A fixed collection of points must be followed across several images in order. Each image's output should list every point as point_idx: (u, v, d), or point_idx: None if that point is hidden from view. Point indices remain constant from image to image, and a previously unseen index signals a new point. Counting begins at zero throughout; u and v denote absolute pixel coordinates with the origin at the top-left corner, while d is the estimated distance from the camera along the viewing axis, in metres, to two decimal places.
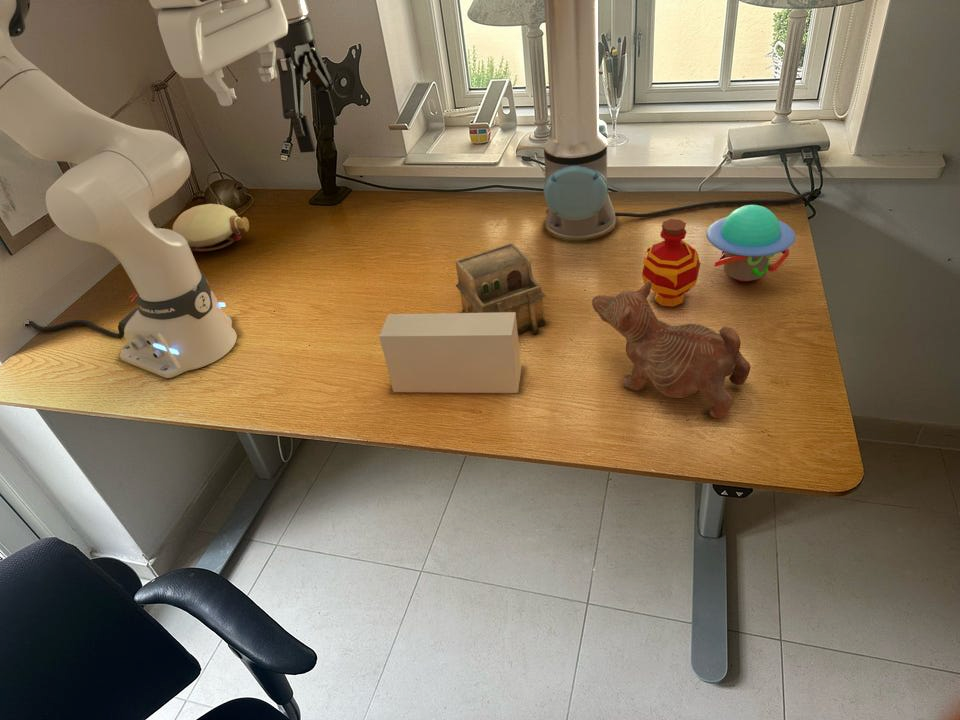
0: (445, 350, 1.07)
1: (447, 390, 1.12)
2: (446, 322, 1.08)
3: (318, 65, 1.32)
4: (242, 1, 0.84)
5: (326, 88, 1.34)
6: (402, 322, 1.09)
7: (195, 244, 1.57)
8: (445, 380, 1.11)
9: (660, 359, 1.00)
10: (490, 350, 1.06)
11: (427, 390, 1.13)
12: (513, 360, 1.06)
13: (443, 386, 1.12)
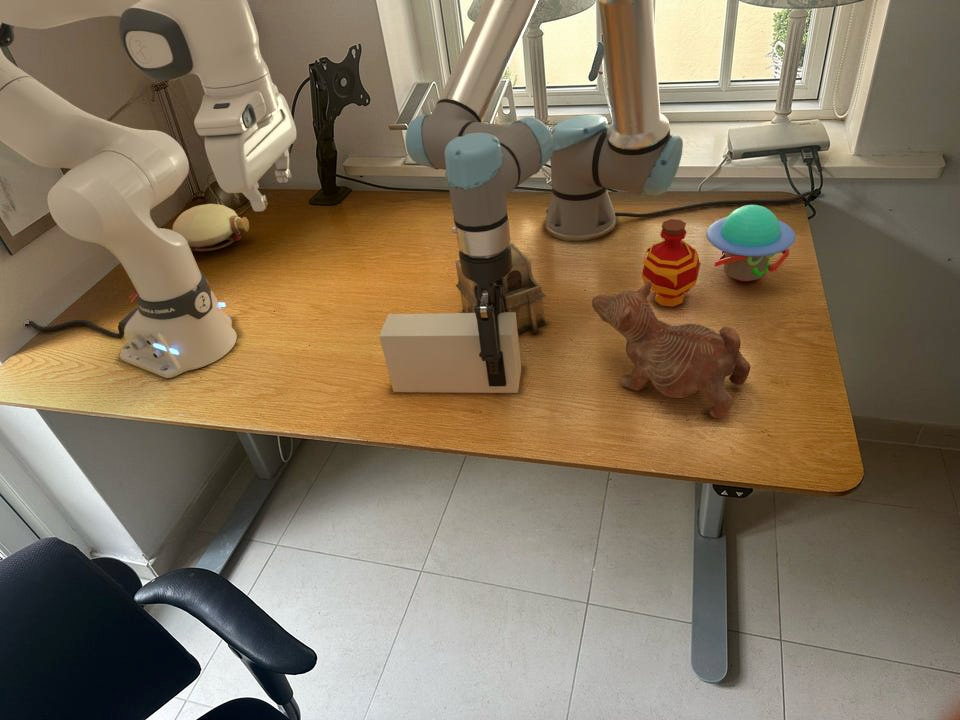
0: (445, 350, 1.07)
1: (447, 390, 1.12)
2: (446, 322, 1.08)
3: None
4: (270, 120, 0.94)
5: None
6: (402, 322, 1.09)
7: (195, 244, 1.57)
8: (445, 380, 1.11)
9: (660, 359, 1.00)
10: None
11: (427, 390, 1.13)
12: (513, 360, 1.06)
13: (443, 386, 1.12)
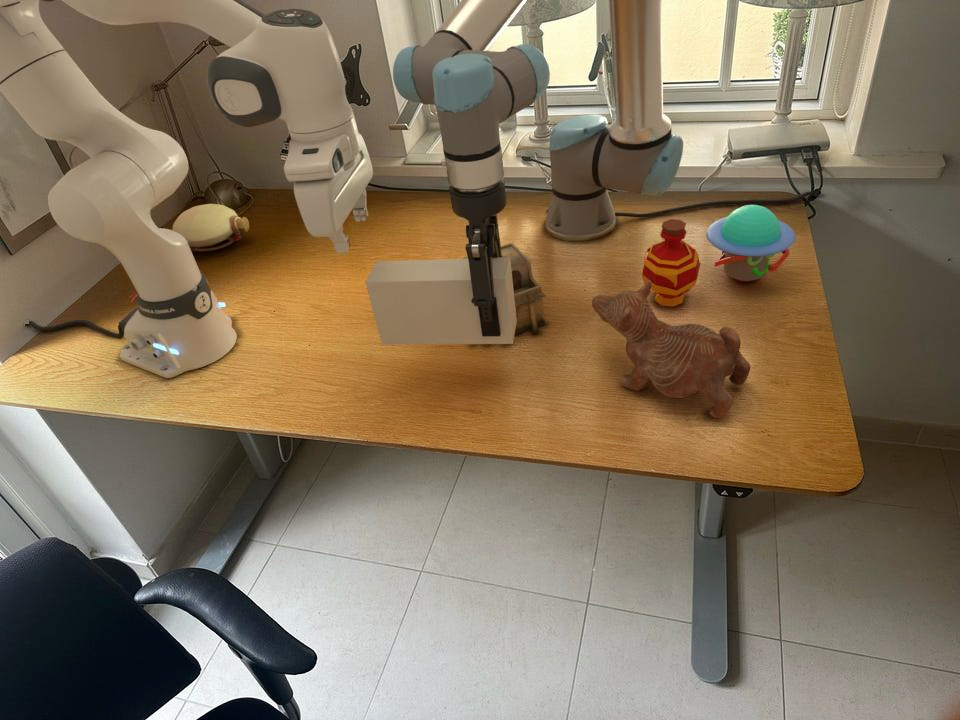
0: (435, 297, 1.01)
1: (438, 342, 1.06)
2: (437, 267, 1.02)
3: None
4: (354, 162, 0.93)
5: None
6: (390, 269, 1.03)
7: (195, 244, 1.57)
8: (436, 331, 1.05)
9: (660, 359, 1.00)
10: None
11: (417, 342, 1.07)
12: (507, 307, 1.00)
13: (434, 337, 1.06)
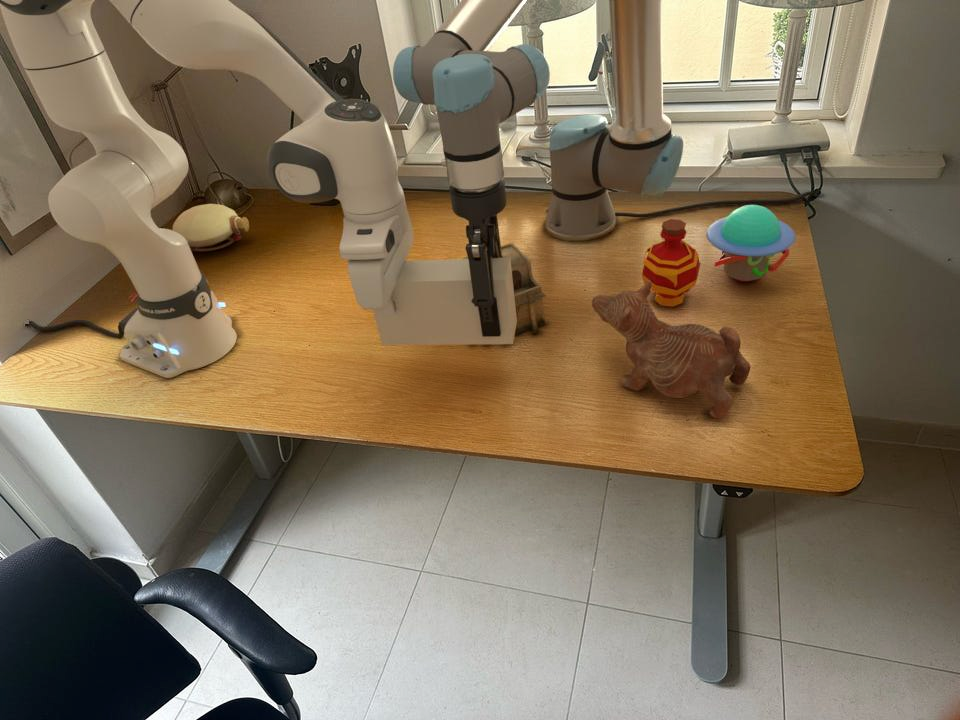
0: (436, 297, 1.01)
1: (438, 342, 1.06)
2: (437, 268, 1.02)
3: None
4: (402, 237, 0.99)
5: None
6: None
7: (195, 244, 1.57)
8: (436, 331, 1.05)
9: (660, 359, 1.00)
10: None
11: (417, 342, 1.07)
12: (508, 307, 1.00)
13: (434, 338, 1.06)
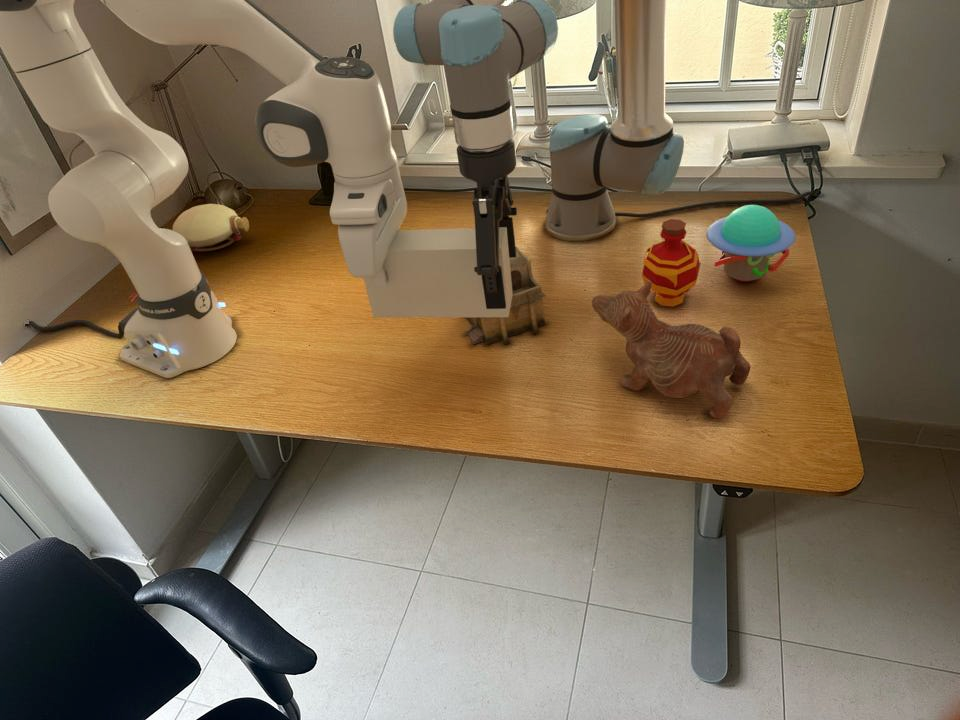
0: (429, 267, 0.98)
1: (432, 315, 1.03)
2: (431, 237, 0.99)
3: None
4: (395, 204, 0.95)
5: (509, 214, 1.02)
6: None
7: (195, 244, 1.57)
8: (429, 303, 1.02)
9: (660, 359, 1.00)
10: None
11: (410, 315, 1.04)
12: (503, 278, 0.97)
13: (427, 310, 1.03)
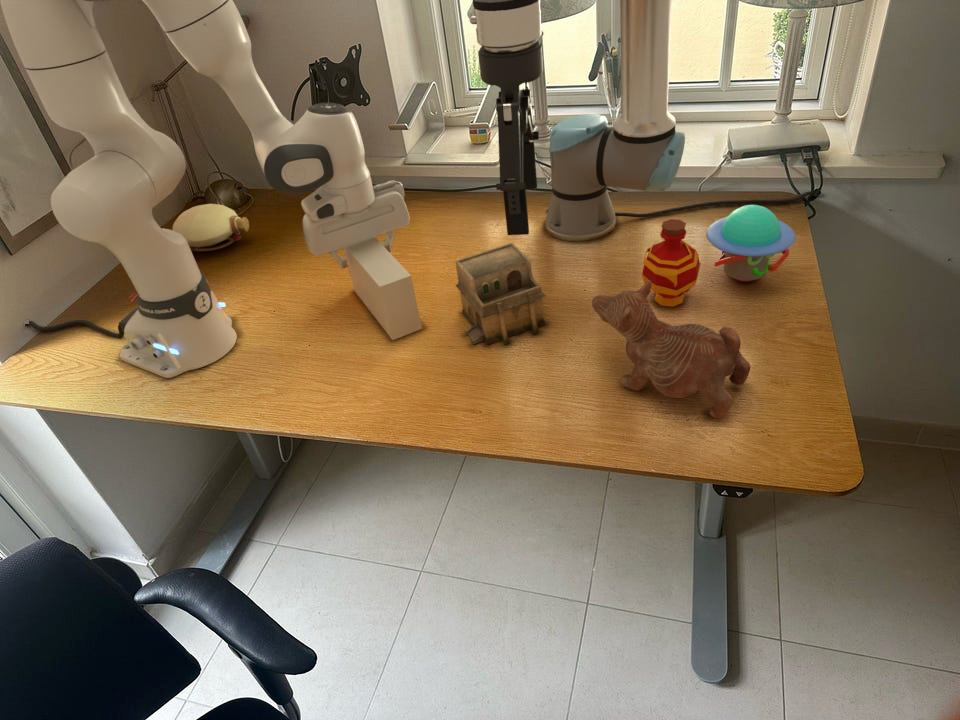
0: (362, 275, 1.28)
1: (370, 309, 1.34)
2: (376, 255, 1.27)
3: None
4: (358, 214, 1.25)
5: (531, 138, 0.94)
6: None
7: (195, 244, 1.57)
8: (367, 301, 1.33)
9: (660, 359, 1.00)
10: (375, 292, 1.23)
11: (364, 302, 1.36)
12: (385, 310, 1.22)
13: (368, 305, 1.34)
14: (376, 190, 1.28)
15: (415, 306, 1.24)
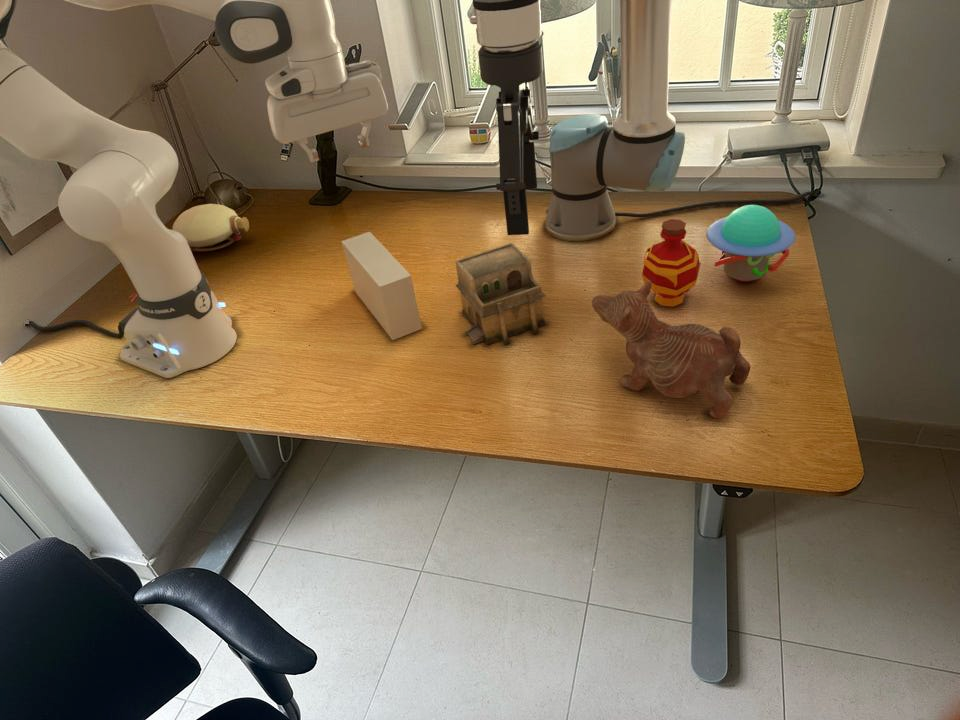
0: (362, 275, 1.28)
1: (370, 309, 1.34)
2: (376, 255, 1.27)
3: None
4: (329, 95, 1.12)
5: (531, 138, 0.94)
6: (363, 240, 1.33)
7: (195, 244, 1.57)
8: (367, 301, 1.33)
9: (660, 359, 1.00)
10: (375, 292, 1.23)
11: (364, 302, 1.36)
12: (385, 310, 1.22)
13: (368, 305, 1.34)
14: (349, 70, 1.14)
15: (415, 306, 1.24)
